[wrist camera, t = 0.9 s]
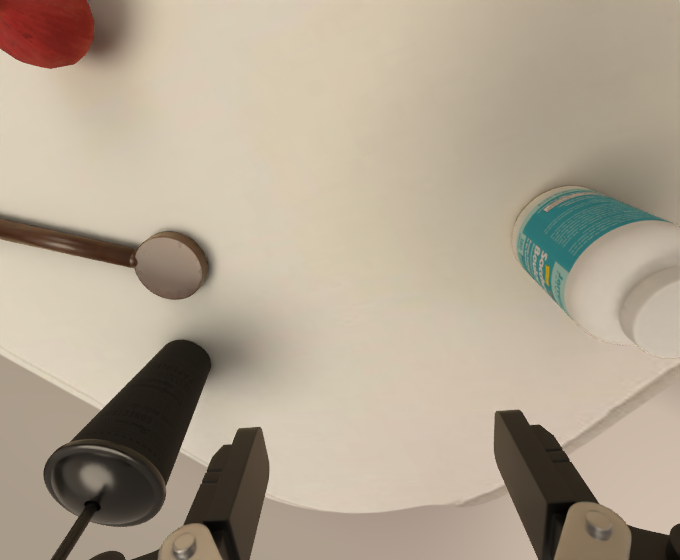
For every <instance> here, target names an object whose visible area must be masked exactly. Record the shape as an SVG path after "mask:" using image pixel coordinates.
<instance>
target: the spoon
mask: <svg viewBox="0 0 680 560" xmlns="http://www.w3.org/2000/svg"><path fill="white" fill-rule="evenodd" d="M0 239H2V240H6V241H11V242H16V243H20V244H25V245H29V246H34V247H39V248H43V249H48V250H52V251H57V252H61V253H66V254H71V255H75V256H80V257H84V258H89V259H94V260H98V261H103V262H107V263H112V264H116V265H121V266H126V267H130V268H135V271H136V274H137V276H138V278H139V279H140V281H141V282H142V284H143V285H144V286H145V287H146V288H147V289H148V290H150V291H151V292H152V293H154V294H156V295H158V296H160V297H163V298H166V299H174V300H176V299H183V298H187V297H189V296H191V295H192V294H194V293H195V292H196V291H197V290H198V289H199V288H200V286H201V285H202V284H203V282H204V281H205V279H206V277H207V274H208V262H207V258H206V256H205V254H204V252H203V250H202V249H201V247H200V246H199V245H198V244H197V243H196V242H195V241H194V240H192V239H191V238H189V237H188V236H186V235H183V234H181V233H177V232H169V231H167V232H161V233H158V234H155V235H153V236H152V237H150V238H149V239H147V240H146V241H145V242H143V243H142V244H141V245H140V246H139V248H138V249H134V248H130V247H125V246H121V245H116V244H112V243H107V242H103V241H98V240H94V239H89V238H85V237H80V236H76V235H71V234H67V233H62V232H58V231H53V230H49V229H44V228H40V227H35V226H31V225H26V224H21V223H17V222H12V221H8V220H3V219H0Z"/></svg>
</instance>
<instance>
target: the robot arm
mask: <svg viewBox="0 0 680 560" xmlns="http://www.w3.org/2000/svg"><path fill="white" fill-rule="evenodd" d="M494 454H495V459H496V463H497V466H498V469H499V471H500V473H501V475H502V478H503V480H504V482H505V485H506V487H507V489H508V491H509V494H510V496H511V498H512V500H513V503H514V505H515V507H516V510H517V512H518V514H519V516H520V519H521V521H522V523H523V525H524V528H525V530H526V532H527V535H528V537H529V539H530V541H531V544H532V546H533V548H534V550H535V553H536V555H537V557H538V560H680V524H677V525H675V526H674V527H673V528H672V529H671V531H670V535H665V534H661V533H656V532H651V531H647V530H643V529H639V528H635V527H632V526H629V525H627V524H626V522H625V521H624V520H623V519H622V518H621V517H620V516H619V515H618V514H617V513H615V512H614V511H612V510H611V509H609V508H607V507H605V506H603V505H600V504H599V503H598V501H597V500H596V498H595V497H594V495H593V494H592V492H591V491H590V489H589V488H588V486H587V485H586V483H585V482H584V480H583V479H582V478H581V476H580V474H579V473H578V471H577V470H576V469H575V467H574V465H573V464H572V462H570V461H569V458H568V456H567V455H566V453H565V452H564V451H563V450H562V447H561V446H560V444H559V443H558V441H557V440H556V438H555V437H554V435H552V434H551V433H550V432H548V431H547V430H546V429H544V428H543V427H542V426H541V425H529V423H528V421H527V420H526V418H525V416H524V415H523V413H522V412H521V411H520V410H506V411H496V413H495V426H494ZM268 480H269V460H268V455H267V451H266V446H265V441H264V437H263V432H262V429H261V427H252V428H239V429H238V430H237V432H236V435H235V438H234V440H233V443H232V445H223V446H222V447H221V448H220V449H219V450H218V452H217V453H216V454H215V455H214V456H213V457H212V459H211V462H210V464H209V466H208V469H207V473H205V476H204V478H203V480H202V484H201V485H200V488H199V490H198V492H197V494H196V497H195V499H194V502H193V504H192V506H191V508H190V511H189V513H188V515H187V518H186V520H185V523H184V525H183V526H182V527H180V528H178V529H177V530H175V531H174V532H172V533H171V534H170V535H169V536H168V537H167V538H166V539H165V541H164V542H163V544H162V545H161V547H160V549H158V550H156V551H154V552H152V553H149V554H146V555H143V556H140V557H138V558H135V559H132V560H249V559H250V555H251V551H252V547H253V543H254V539H255V535H256V530H257V526H258V522H259V518H260V513H261V509H262V505H263V501H264V497H265V493H266V488H267V484H268ZM90 560H126V559H125V557H124V555H123V554H121V553H120V552H117V551H108V552H104V553H101V554H99V555H97V556H95V557H93V558H91V559H90Z"/></svg>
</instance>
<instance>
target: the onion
mask: <svg viewBox="0 0 680 560" xmlns="http://www.w3.org/2000/svg"><path fill="white" fill-rule="evenodd" d="M93 39H94V20H93V17H92V14H91V10H90V7H89V4H88V2H87V0H0V49H2V50H3V51H5V52H6V53H8V54H9V55H11V56H12V57H14V58H15V59H17V60H19V61H21V62H23V63H27V64H31V65H35V66H39V67H43V68H50V69H52V68H57V67H62V66H68V65H73V64H75V63H76V62H78V61H79V60H80V59H81V58H82V57H84V56H85V55H86V53H87V52H88V50H89V48H90V45H91V43H92V41H93Z"/></svg>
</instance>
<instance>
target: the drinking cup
mask: <svg viewBox="0 0 680 560" xmlns="http://www.w3.org/2000/svg"><path fill="white" fill-rule="evenodd" d="M210 368H211V362H210V358H209V356H208V354H207V353H206V351H205V350H204V349H203V348H202V347H200V346H199V345H197V344H195V343H193V342H190V341H186V340H176V341H172V342H170V343H168V344H167V345H165V346H164V347H163V348H162V349H161V350H160V351H159V352H158V353H157V354H156V355H155V356H154V357H153V358H152V360H151V361H150V362H149V363H148V364H147V365H146V366H145V367H144V368H143V369H142V370H141V371H140V372H139V373H138V374H137V375H136V376H135V377H134V378H133V379H132V380H131V381H130V382H129V383H128V384H127V385H126V386H125V387H124V388H123V389H122V390H121V391H120V392H119V393H118V394H117V395H116V396H115V397H114V398H113V399H112V400H111V401H110V402H109V403H108V404H107V405H106V406H105V407H104V408H103V409H102V410H101V411H100V412H99V413H98V414H97V415H96V416H95V417H94V418H93V419H92V420H91V421H90V422H89V423H88V424H87V425H86V426H85V427H84V428H83V429H82V430H81V431H80V432H79V433H78V434H77V436H75V437H74V439H73V440H71V441H70V442H69V443H67V444H65V445H63V446H61V447H60V448H58V449H57V450H56V451H55V452H54V453H53V454H52V455H51V456H50V458H49V459H48V461H47V462H46V465H45V468H44V481H45V484H46V487H47V489H48V491H49V492H50V494H51V495H52V497H53V498H54V499H55V500H56V501H57V502H58V503H59V504H60V505H62V506H63V507H64V508H65V509H66V510H68V511H69V512H71V513H73V514H74V515H76V516H78V519H77V520H76V522H75V524H74V525H73V527H72V528H71V530H70V531H69V533H68V534H67V536H66V537H65V539H64V540H63V542H62V543H61V545H60V546H59V548H58V549H57V551H56V552H55V554H54V555H53V557H52V559H51V560H66V558H67V557H68V555H69V554H70V552H71V550H72V549H73V547H74V546H75V544H76V542H77V541H78V539H79V537H80V536H81V534H82V533H83V531H84V530H85V528H86V526H87V525H88V523H89V522H93V523H97V524H101V525H106V526H114V527H127V526H134V525H138V524H141V523H144V522H146V521H148V520H150V519H151V518H153V517H154V516H155V515H156V514H157V513H158V512H159V511H160V509H161V507H162V505H163V503H164V501H165V497H166V485H167V482H168V479H169V477H170V474H171V471H172V469H173V466H174V463H175V461H176V458H177V456H178V453H179V450H180V448H181V445H182V442H183V440H184V437H185V435H186V432H187V429H188V427H189V424H190V421H191V419H192V416H193V414H194V411H195V408H196V406H197V403H198V400H199V398H200V395H201V392H202V390H203V387H204V385H205V382H206V379H207V377H208V374H209V371H210Z"/></svg>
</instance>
